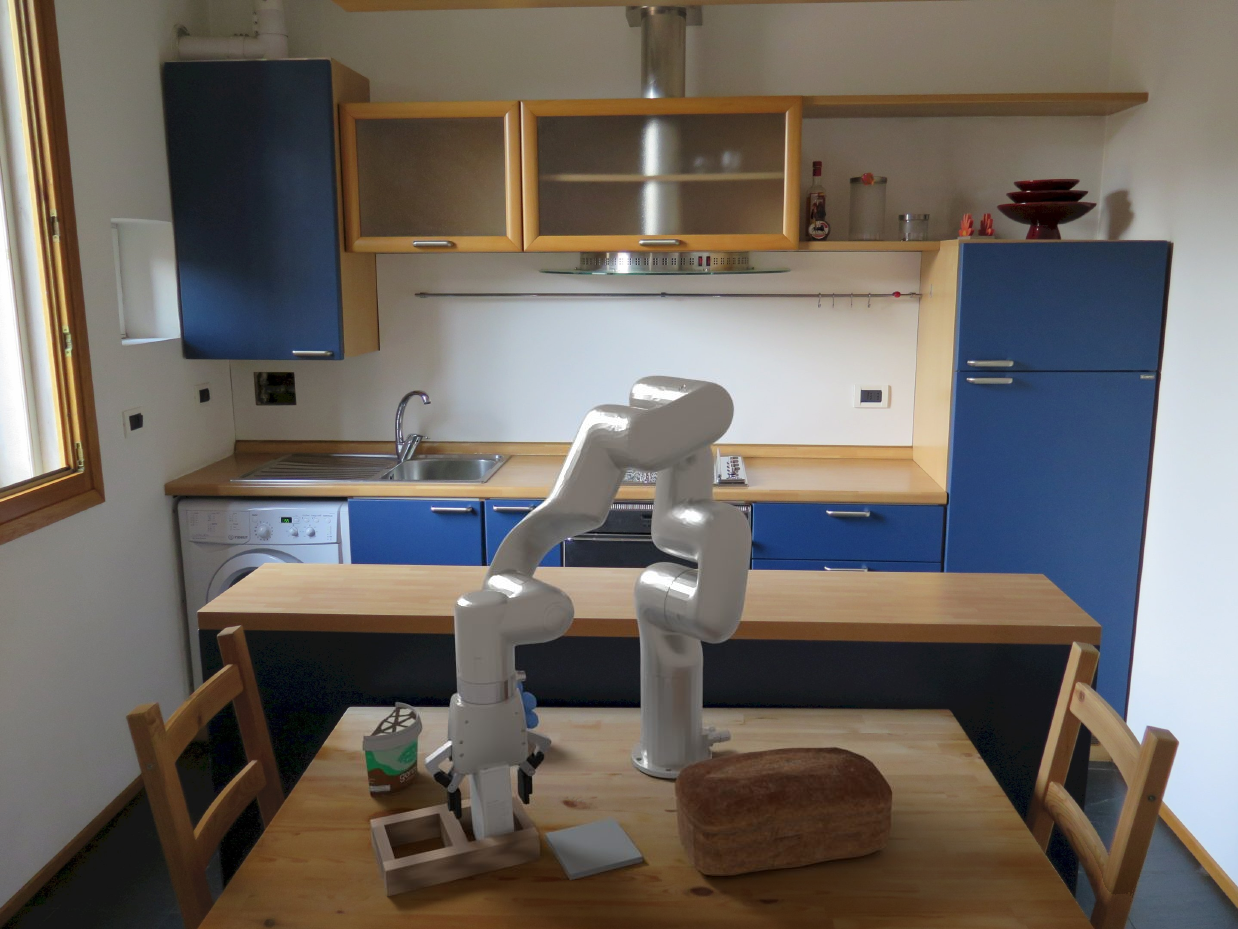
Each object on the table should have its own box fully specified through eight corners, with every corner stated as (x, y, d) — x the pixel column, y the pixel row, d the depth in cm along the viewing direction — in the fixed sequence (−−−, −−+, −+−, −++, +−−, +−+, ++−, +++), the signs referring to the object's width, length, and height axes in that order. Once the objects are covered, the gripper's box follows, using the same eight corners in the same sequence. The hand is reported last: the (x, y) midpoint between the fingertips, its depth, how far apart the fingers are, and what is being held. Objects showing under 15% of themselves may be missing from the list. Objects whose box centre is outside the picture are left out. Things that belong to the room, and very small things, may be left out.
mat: (613, 822, 139) (613, 817, 139) (642, 861, 130) (642, 856, 130) (545, 838, 135) (545, 833, 135) (570, 880, 126) (570, 874, 126)
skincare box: (516, 850, 133) (513, 766, 130) (484, 859, 131) (480, 774, 128) (501, 827, 138) (498, 746, 136) (469, 835, 136) (466, 753, 134)
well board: (513, 812, 142) (512, 789, 141) (540, 859, 131) (539, 835, 130) (371, 843, 135) (369, 820, 134) (387, 896, 123) (385, 871, 123)
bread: (665, 831, 137) (665, 749, 134) (855, 805, 143) (858, 726, 140) (694, 893, 124) (695, 802, 121) (902, 861, 130) (907, 775, 127)
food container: (405, 805, 144) (401, 741, 142) (365, 801, 145) (361, 737, 143) (437, 763, 156) (434, 703, 154) (400, 760, 157) (397, 700, 155)
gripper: (541, 664, 137) (543, 780, 140) (414, 685, 130) (420, 806, 134) (558, 685, 130) (561, 807, 133) (425, 708, 123) (431, 835, 127)
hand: (490, 806), depth 133 cm, fingers open, 8 cm apart
